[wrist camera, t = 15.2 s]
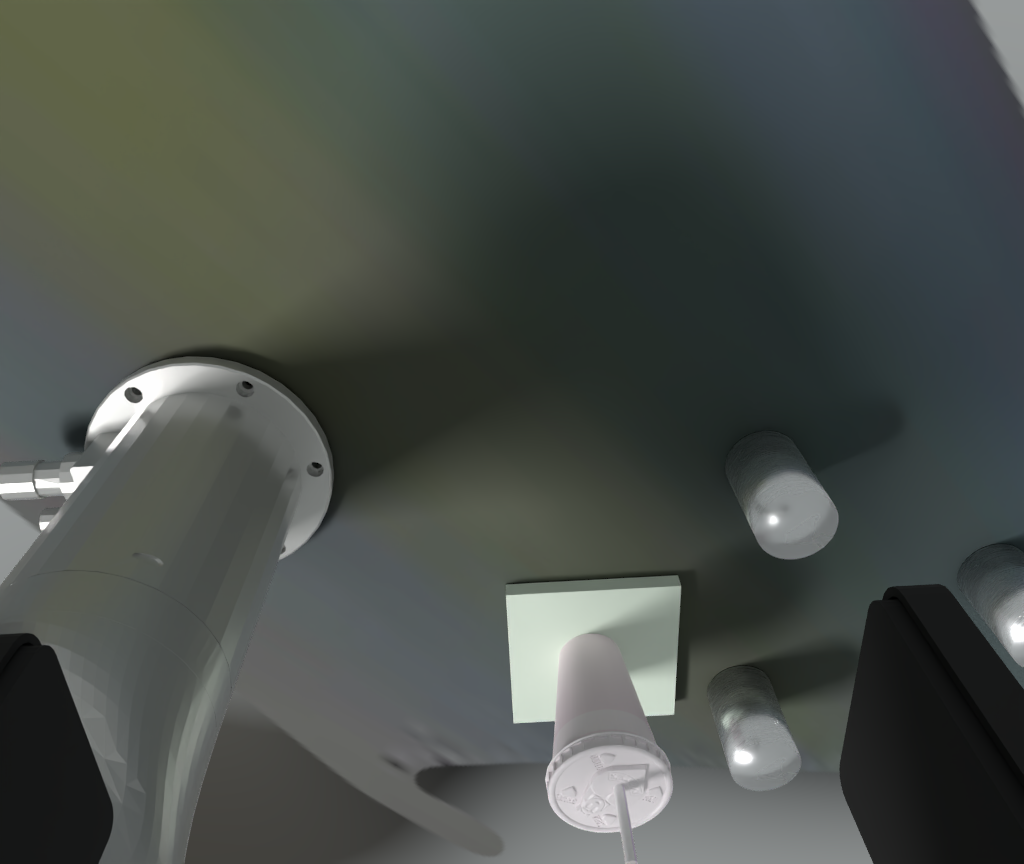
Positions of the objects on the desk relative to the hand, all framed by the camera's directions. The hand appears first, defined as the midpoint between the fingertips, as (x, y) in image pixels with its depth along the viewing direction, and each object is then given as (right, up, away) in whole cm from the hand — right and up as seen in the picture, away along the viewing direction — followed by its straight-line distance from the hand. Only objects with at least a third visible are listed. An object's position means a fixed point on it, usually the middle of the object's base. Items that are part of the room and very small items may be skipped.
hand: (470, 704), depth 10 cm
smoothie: (+5, -10, +42) cm, 44 cm away
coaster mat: (+5, -10, +43) cm, 44 cm away
